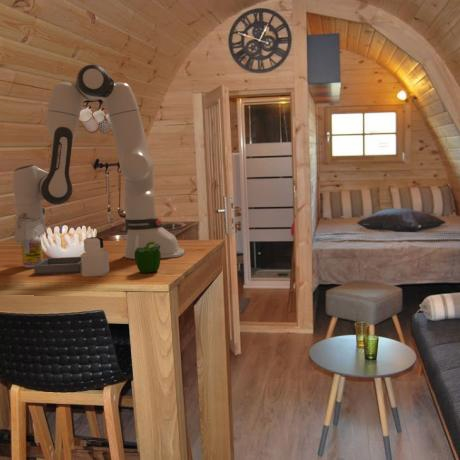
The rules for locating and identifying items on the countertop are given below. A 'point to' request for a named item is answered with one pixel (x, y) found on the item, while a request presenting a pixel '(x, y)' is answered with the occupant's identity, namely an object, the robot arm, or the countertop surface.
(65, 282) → the countertop surface
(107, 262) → the medicine bottle
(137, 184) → the robot arm
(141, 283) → the countertop surface
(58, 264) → the tray
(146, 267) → the bell pepper
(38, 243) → the supplement bottle
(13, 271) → the countertop surface
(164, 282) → the countertop surface
